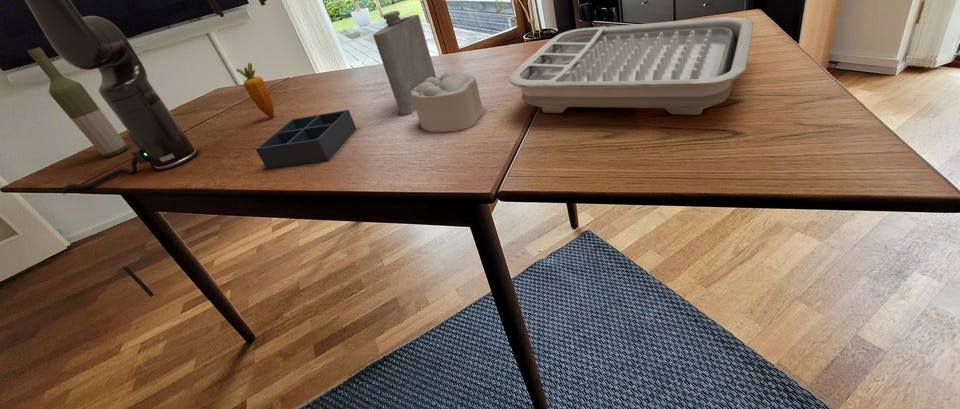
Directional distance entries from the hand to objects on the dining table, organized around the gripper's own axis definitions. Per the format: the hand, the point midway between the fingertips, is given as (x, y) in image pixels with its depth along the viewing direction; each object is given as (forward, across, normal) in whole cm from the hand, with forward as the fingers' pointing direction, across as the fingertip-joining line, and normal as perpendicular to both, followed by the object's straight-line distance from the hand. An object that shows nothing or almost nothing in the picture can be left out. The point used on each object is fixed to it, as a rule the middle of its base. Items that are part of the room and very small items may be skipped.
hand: (243, 10), depth 87 cm
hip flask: (+27, -26, +17) cm, 41 cm away
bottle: (+28, +46, -45) cm, 70 cm away
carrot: (+27, +4, -18) cm, 33 cm away
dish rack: (+27, -52, +57) cm, 82 cm away
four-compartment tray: (+27, +1, +19) cm, 33 cm away
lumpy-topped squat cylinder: (+27, -24, +36) cm, 51 cm away
